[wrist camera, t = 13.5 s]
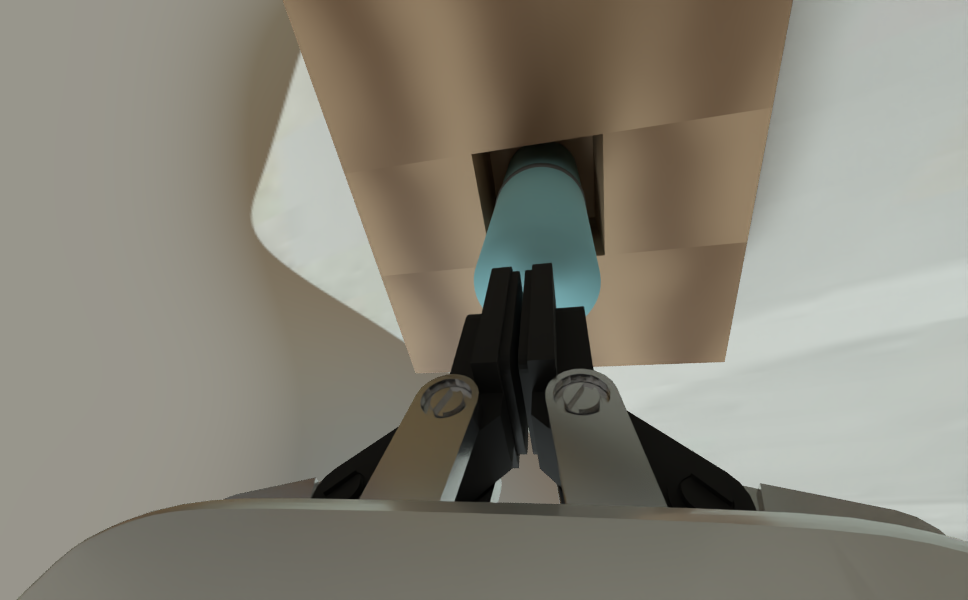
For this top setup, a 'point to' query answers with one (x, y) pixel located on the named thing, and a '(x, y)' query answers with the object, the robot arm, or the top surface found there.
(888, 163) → the top surface
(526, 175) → the peg
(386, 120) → the socket block
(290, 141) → the top surface
